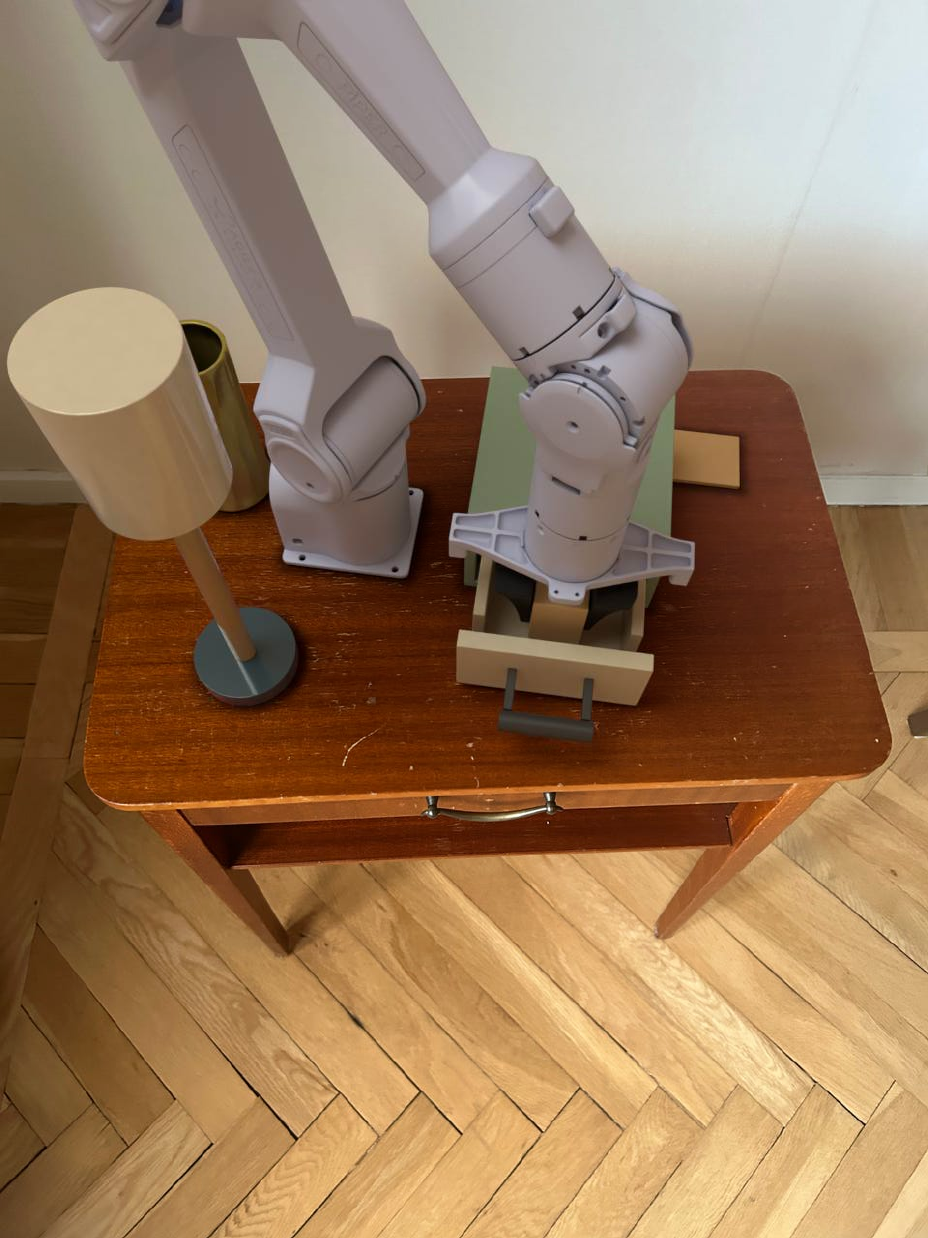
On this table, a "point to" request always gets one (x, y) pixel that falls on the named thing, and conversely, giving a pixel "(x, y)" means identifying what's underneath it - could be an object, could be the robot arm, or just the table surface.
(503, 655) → the drawer
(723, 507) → the table surface
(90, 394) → the lamp
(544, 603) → the tan wooden block
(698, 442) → the pad
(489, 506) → the cabinet
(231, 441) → the vase
